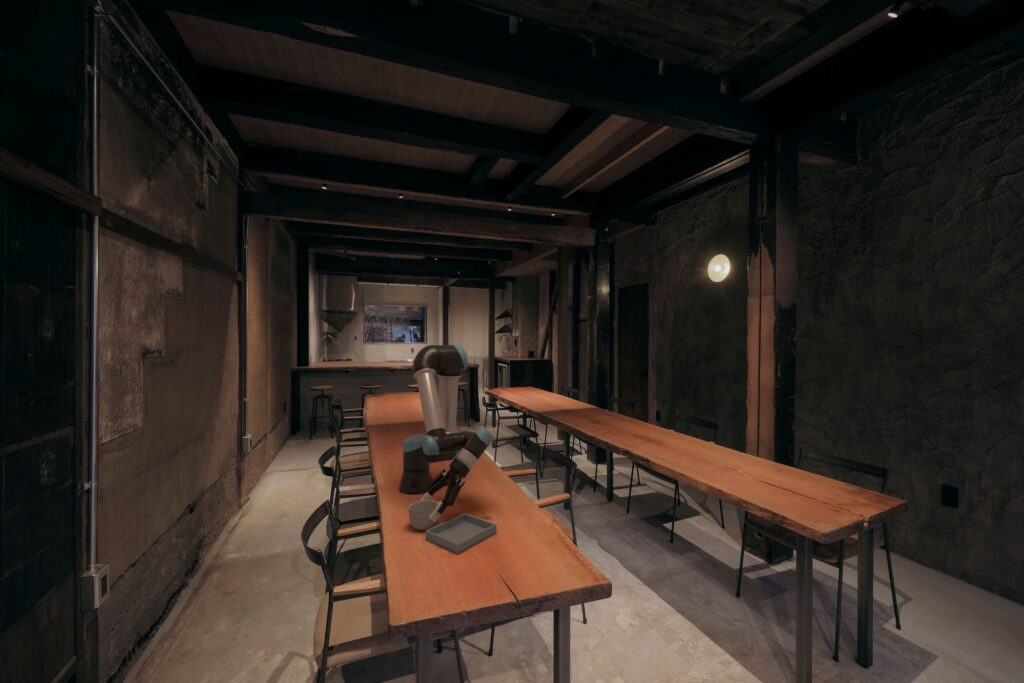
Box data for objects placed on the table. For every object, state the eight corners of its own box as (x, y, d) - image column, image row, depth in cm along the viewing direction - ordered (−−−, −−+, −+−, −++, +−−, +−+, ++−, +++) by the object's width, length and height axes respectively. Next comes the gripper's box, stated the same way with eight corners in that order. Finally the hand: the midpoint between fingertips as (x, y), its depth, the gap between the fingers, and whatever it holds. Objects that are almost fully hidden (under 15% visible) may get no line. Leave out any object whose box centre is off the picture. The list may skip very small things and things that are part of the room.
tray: (425, 539, 139) (425, 530, 139) (464, 521, 154) (464, 513, 154) (457, 554, 130) (457, 544, 130) (496, 533, 144) (496, 524, 144)
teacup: (411, 536, 142) (411, 512, 142) (405, 523, 152) (405, 501, 152) (451, 528, 148) (451, 505, 148) (443, 516, 158) (443, 495, 158)
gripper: (485, 477, 151) (446, 532, 142) (454, 462, 170) (418, 509, 160) (472, 465, 148) (432, 520, 139) (442, 451, 166) (405, 499, 157)
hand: (424, 514), depth 149 cm, fingers closed on teacup, 11 cm apart
